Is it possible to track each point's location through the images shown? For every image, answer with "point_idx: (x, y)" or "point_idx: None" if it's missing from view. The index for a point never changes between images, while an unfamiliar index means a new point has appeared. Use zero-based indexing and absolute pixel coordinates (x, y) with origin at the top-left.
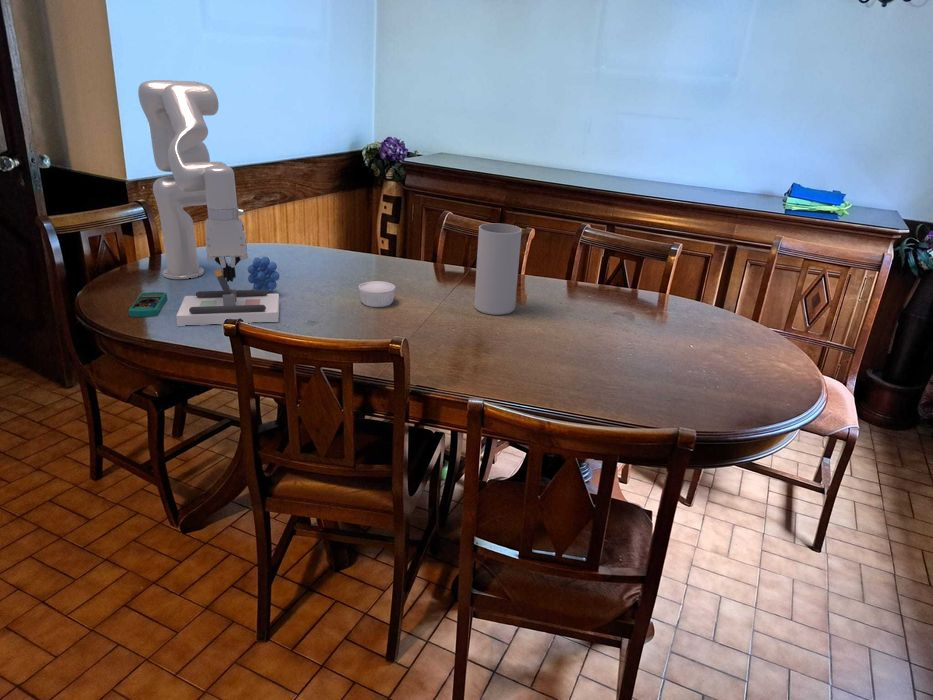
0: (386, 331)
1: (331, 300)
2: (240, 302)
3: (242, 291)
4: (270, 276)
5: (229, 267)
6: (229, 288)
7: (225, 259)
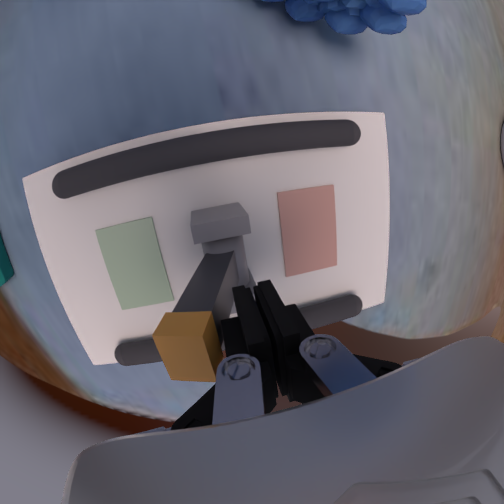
0: (494, 291)
1: (465, 116)
2: (259, 225)
3: (260, 148)
4: (369, 18)
5: (289, 393)
6: (231, 269)
7: (263, 402)
